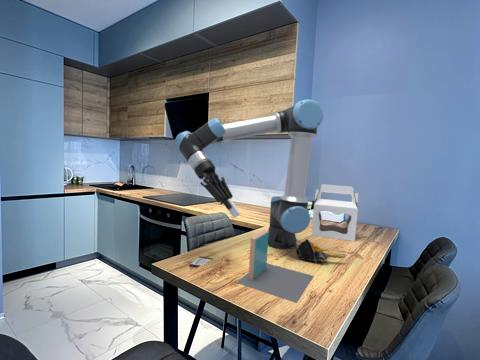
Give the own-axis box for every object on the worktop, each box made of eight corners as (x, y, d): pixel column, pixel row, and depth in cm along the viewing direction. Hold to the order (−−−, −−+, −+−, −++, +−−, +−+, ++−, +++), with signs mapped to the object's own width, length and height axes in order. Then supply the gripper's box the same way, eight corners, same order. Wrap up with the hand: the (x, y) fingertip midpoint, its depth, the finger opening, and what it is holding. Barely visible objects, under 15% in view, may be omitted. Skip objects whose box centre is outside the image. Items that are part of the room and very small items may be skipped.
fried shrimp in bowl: (292, 243, 111) (331, 231, 111) (300, 269, 108) (341, 257, 108) (295, 242, 102) (338, 229, 103) (305, 270, 99) (349, 257, 99)
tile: (262, 267, 95) (264, 230, 93) (266, 268, 94) (269, 231, 92) (248, 279, 85) (250, 238, 84) (253, 280, 84) (255, 239, 83)
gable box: (353, 234, 145) (358, 185, 142) (355, 241, 133) (360, 188, 130) (313, 229, 153) (316, 182, 150) (311, 235, 140) (315, 184, 138)
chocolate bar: (236, 273, 89) (189, 265, 94) (236, 275, 89) (189, 267, 94) (242, 263, 98) (199, 256, 102) (242, 265, 98) (199, 258, 102)
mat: (261, 263, 100) (262, 261, 100) (313, 277, 90) (313, 275, 90) (235, 284, 82) (235, 282, 82) (296, 304, 72) (296, 302, 72)
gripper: (206, 171, 106) (239, 218, 99) (185, 172, 94) (220, 225, 88) (217, 159, 103) (252, 206, 96) (197, 158, 91) (234, 212, 85)
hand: (237, 215), depth 92 cm, fingers closed
